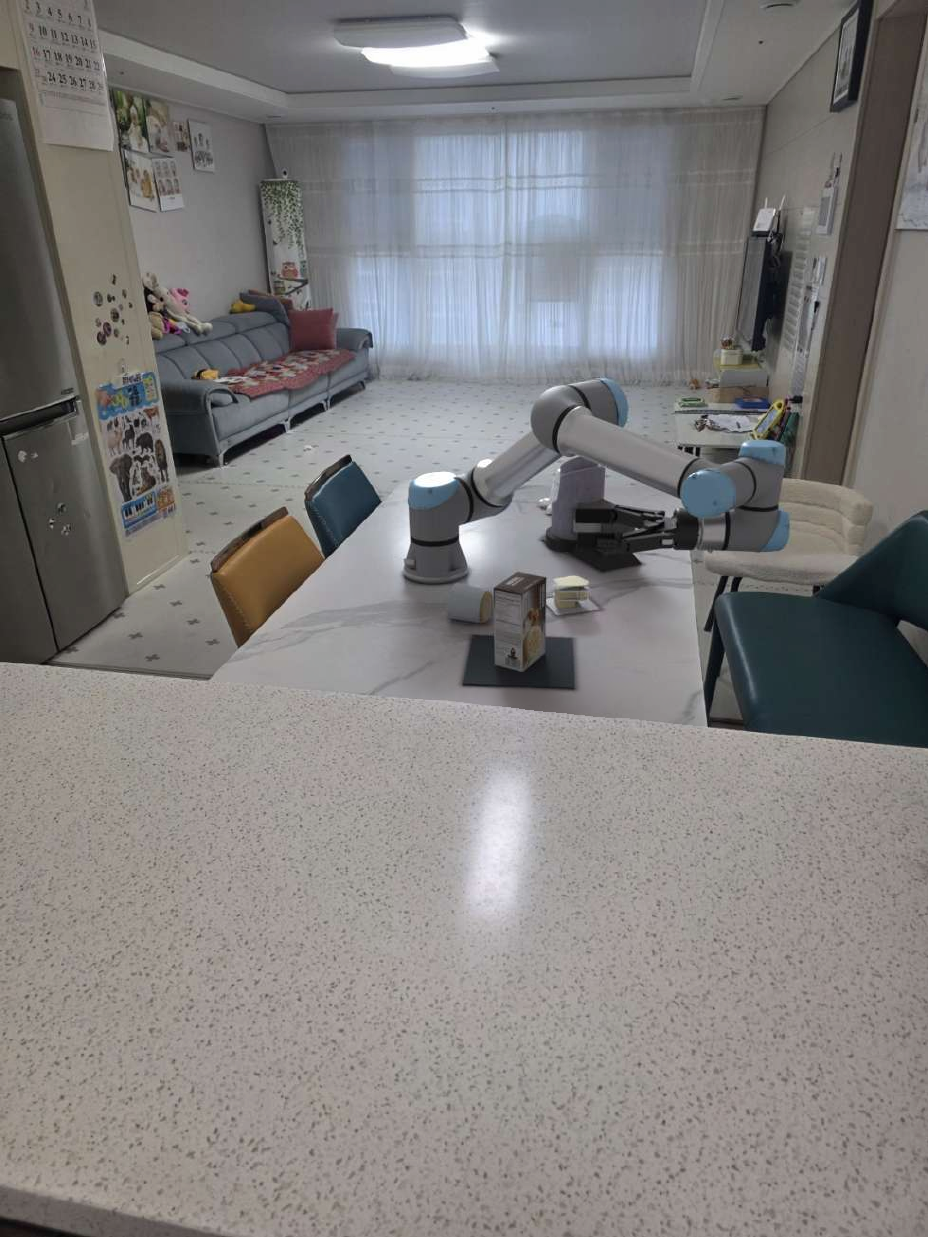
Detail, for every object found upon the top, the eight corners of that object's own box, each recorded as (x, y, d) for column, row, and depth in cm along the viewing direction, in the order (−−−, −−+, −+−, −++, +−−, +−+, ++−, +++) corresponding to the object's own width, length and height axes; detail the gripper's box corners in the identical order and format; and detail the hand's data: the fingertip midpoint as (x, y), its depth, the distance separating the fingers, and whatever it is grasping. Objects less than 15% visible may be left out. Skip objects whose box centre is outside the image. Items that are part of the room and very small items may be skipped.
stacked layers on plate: (556, 615, 175) (557, 591, 173) (541, 599, 183) (542, 576, 181) (600, 609, 178) (601, 586, 175) (583, 593, 186) (584, 571, 183)
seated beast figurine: (537, 505, 246) (538, 466, 241) (564, 503, 248) (566, 463, 243) (547, 514, 238) (549, 474, 233) (576, 512, 240) (577, 471, 234)
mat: (472, 636, 167) (472, 634, 167) (571, 638, 165) (572, 637, 165) (462, 685, 149) (462, 683, 149) (573, 688, 147) (574, 687, 147)
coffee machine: (531, 537, 221) (533, 446, 210) (582, 527, 227) (586, 439, 216) (594, 574, 196) (599, 473, 186) (649, 562, 202) (657, 464, 192)
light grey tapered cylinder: (482, 629, 169) (482, 595, 166) (446, 624, 172) (445, 590, 169) (499, 610, 178) (500, 577, 175) (464, 605, 181) (464, 572, 178)
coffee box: (516, 646, 162) (517, 570, 155) (546, 653, 159) (547, 576, 152) (493, 665, 155) (492, 586, 148) (523, 673, 152) (524, 593, 145)
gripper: (705, 575, 137) (576, 572, 139) (684, 526, 160) (574, 524, 162) (710, 532, 134) (578, 530, 136) (688, 489, 156) (575, 487, 158)
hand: (576, 527), depth 149 cm, fingers open, 13 cm apart
